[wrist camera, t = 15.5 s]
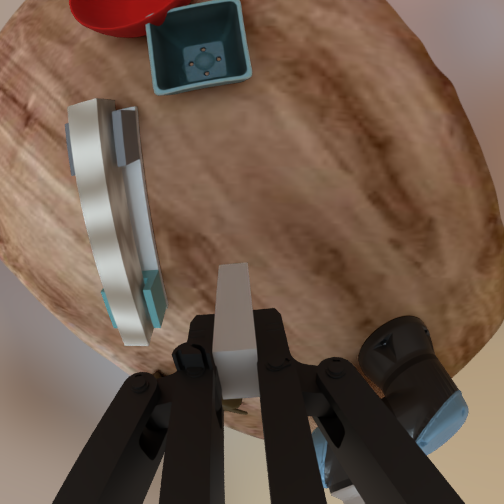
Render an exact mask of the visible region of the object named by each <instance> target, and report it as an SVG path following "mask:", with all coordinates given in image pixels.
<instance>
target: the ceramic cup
mask: <svg viewBox="0 0 504 504" xmlns="http://www.w3.org/2000/svg"><path fill="white" fill-rule="evenodd" d="M190 2H191V0H69V5H70V9H71V12H72V14H73V15H74V17H75V19H76V20H77V21H78V22H80V23H81V24H82V25H83V26H85V27H87V28H89V29H92V30H94V31H96V32H99V33H102V34H105V35H110V36H114V37H124V38H133V37H140V36H145V35H147V34H146V26H145V25H146V24H148V23H151V24H153V25H156V26H160V25H162V24H163V22H164V21H165V18H166V16H167V12H168V11H169V10H171V9H173V8H178V7H182V6H187V5H189V4H190ZM152 13H153V14H152ZM150 14H152V15H150ZM148 15H150V16H148ZM147 16H148V17H147Z"/></svg>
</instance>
